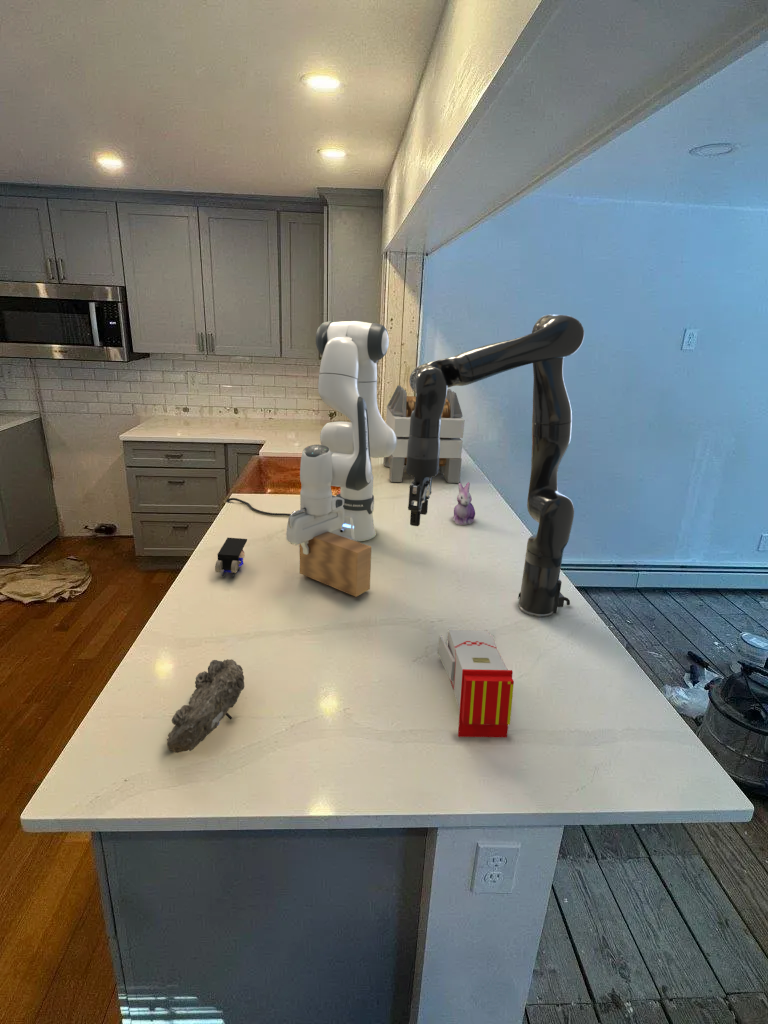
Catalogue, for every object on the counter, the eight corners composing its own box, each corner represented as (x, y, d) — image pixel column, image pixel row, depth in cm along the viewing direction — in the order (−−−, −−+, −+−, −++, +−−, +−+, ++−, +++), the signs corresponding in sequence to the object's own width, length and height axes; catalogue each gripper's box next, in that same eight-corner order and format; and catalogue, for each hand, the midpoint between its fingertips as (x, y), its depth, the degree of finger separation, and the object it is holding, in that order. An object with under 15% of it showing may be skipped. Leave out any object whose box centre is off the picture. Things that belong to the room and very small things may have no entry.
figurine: (461, 527, 208) (464, 488, 203) (445, 518, 216) (448, 480, 211) (481, 524, 212) (485, 485, 207) (466, 515, 221) (469, 478, 216)
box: (299, 573, 165) (299, 532, 161) (313, 567, 169) (313, 526, 165) (356, 596, 153) (357, 553, 149) (369, 589, 157) (371, 546, 153)
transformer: (382, 463, 289) (386, 382, 275) (445, 464, 293) (451, 384, 279) (390, 482, 257) (394, 392, 243) (460, 483, 261) (468, 394, 247)
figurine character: (238, 584, 162) (249, 557, 175) (236, 562, 158) (247, 536, 172) (215, 584, 161) (227, 556, 175) (212, 561, 158) (225, 535, 171)
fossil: (192, 660, 117) (244, 628, 112) (224, 691, 120) (276, 661, 115) (142, 746, 98) (202, 712, 93) (182, 779, 101) (242, 748, 96)
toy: (488, 613, 130) (523, 677, 101) (484, 667, 133) (517, 744, 104) (435, 612, 130) (455, 676, 101) (432, 666, 133) (451, 743, 103)
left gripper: (297, 516, 148) (297, 564, 153) (348, 498, 164) (347, 542, 168) (280, 510, 152) (281, 557, 156) (332, 493, 167) (331, 536, 172)
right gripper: (433, 463, 124) (427, 532, 129) (444, 449, 137) (439, 512, 142) (399, 459, 126) (396, 527, 131) (414, 446, 139) (410, 508, 144)
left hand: (316, 549), depth 163 cm, fingers closed on box, 6 cm apart
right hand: (418, 519), depth 137 cm, fingers open, 8 cm apart
